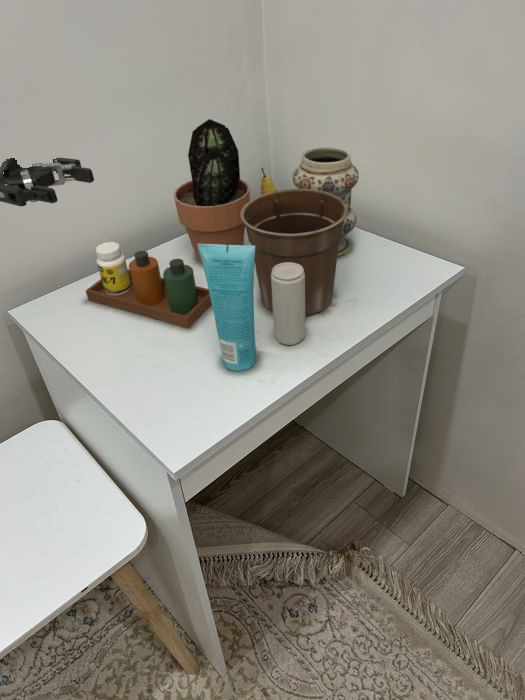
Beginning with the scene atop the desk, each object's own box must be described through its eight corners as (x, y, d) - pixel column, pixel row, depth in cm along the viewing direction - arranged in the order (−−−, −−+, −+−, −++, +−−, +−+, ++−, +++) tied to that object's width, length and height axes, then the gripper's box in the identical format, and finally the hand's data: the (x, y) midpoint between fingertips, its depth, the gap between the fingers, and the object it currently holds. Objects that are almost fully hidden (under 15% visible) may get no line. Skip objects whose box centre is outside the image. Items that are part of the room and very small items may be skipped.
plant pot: (228, 300, 93) (218, 213, 83) (292, 263, 102) (290, 179, 92) (299, 339, 84) (297, 245, 74) (363, 294, 92) (369, 204, 82)
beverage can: (269, 333, 86) (265, 267, 78) (296, 324, 87) (294, 258, 79) (282, 350, 82) (279, 282, 74) (311, 341, 83) (310, 273, 76)
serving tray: (88, 300, 96) (85, 290, 95) (119, 276, 102) (117, 266, 100) (188, 328, 88) (186, 318, 86) (216, 300, 94) (214, 290, 92)
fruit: (288, 219, 116) (286, 163, 108) (265, 227, 114) (261, 170, 106) (274, 210, 120) (272, 156, 112) (252, 217, 118) (247, 162, 110)
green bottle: (164, 311, 91) (155, 266, 86) (180, 296, 94) (172, 252, 89) (188, 317, 89) (180, 272, 84) (203, 302, 92) (197, 257, 87)
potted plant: (170, 256, 106) (146, 124, 91) (224, 232, 113) (210, 105, 97) (213, 282, 98) (194, 141, 83) (269, 253, 105) (261, 119, 89)
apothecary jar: (368, 244, 106) (374, 151, 94) (326, 269, 99) (328, 172, 88) (321, 226, 113) (322, 137, 101) (280, 248, 107) (276, 156, 95)
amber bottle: (131, 302, 94) (120, 258, 88) (148, 287, 97) (138, 244, 92) (153, 308, 92) (143, 263, 86) (170, 293, 95) (161, 249, 90)
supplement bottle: (99, 293, 97) (87, 251, 91) (116, 280, 100) (105, 238, 94) (120, 299, 95) (109, 256, 89) (137, 285, 98) (127, 243, 92)
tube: (265, 350, 82) (256, 235, 70) (262, 372, 79) (253, 254, 66) (216, 350, 83) (200, 236, 71) (211, 371, 79) (193, 255, 67)
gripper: (40, 179, 100) (108, 191, 94) (-23, 211, 91) (48, 226, 84) (27, 138, 96) (97, 147, 89) (-41, 166, 86) (32, 179, 80)
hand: (73, 185), depth 87 cm, fingers open, 8 cm apart
